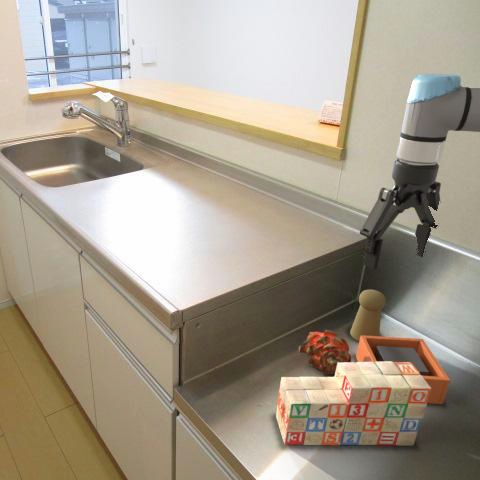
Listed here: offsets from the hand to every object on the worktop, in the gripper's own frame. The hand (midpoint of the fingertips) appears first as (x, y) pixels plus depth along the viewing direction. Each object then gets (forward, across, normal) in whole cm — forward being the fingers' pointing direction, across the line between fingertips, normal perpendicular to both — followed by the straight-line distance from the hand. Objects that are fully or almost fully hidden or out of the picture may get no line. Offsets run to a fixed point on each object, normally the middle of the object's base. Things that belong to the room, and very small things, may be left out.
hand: (394, 260), depth 94 cm
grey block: (+18, +9, +13) cm, 24 cm away
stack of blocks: (+18, +28, +18) cm, 38 cm away
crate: (+18, +9, +13) cm, 24 cm away
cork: (+18, +4, 0) cm, 19 cm away
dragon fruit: (+18, +19, +4) cm, 27 cm away
